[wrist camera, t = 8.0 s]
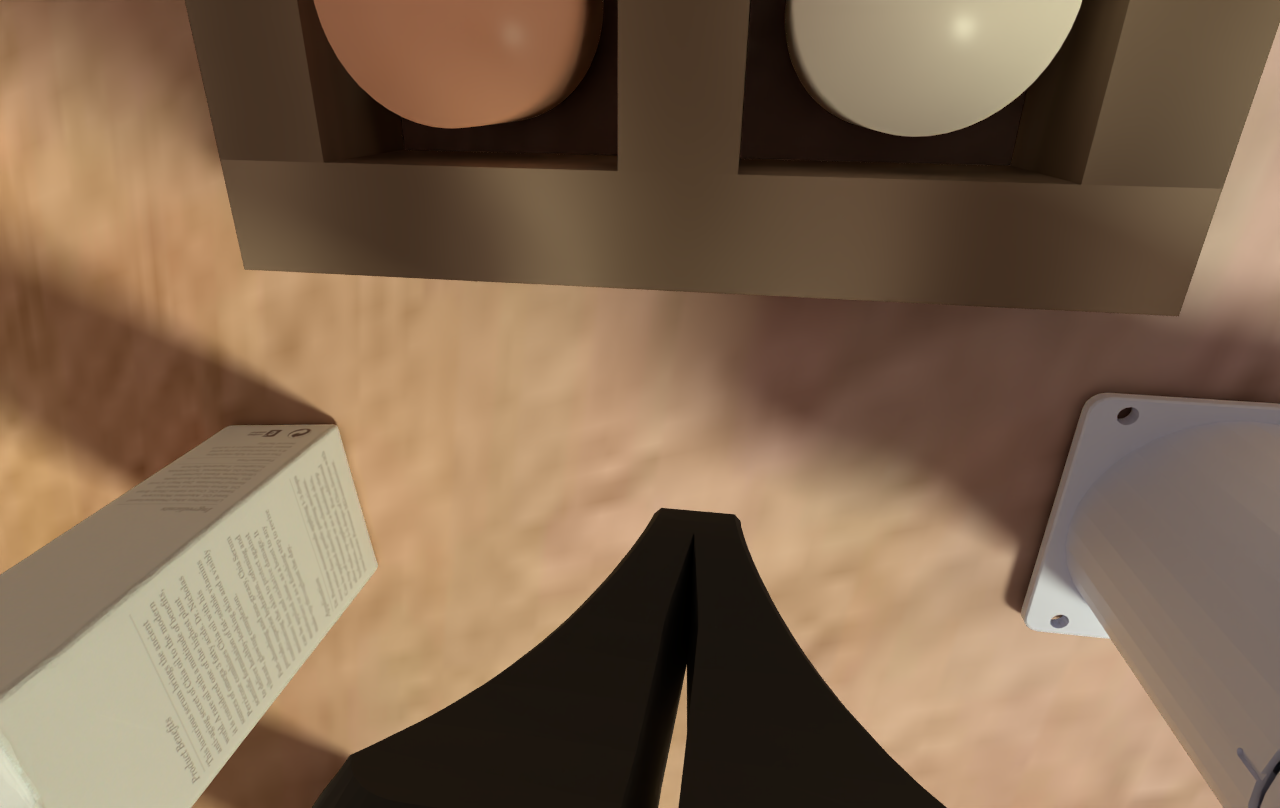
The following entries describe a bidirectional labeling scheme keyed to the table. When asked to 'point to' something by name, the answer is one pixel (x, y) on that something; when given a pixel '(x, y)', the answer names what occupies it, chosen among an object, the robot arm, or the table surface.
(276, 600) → the skincare box
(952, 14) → the cream oval piece
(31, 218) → the table surface
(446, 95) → the brown egg
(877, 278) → the brown compartment tray
